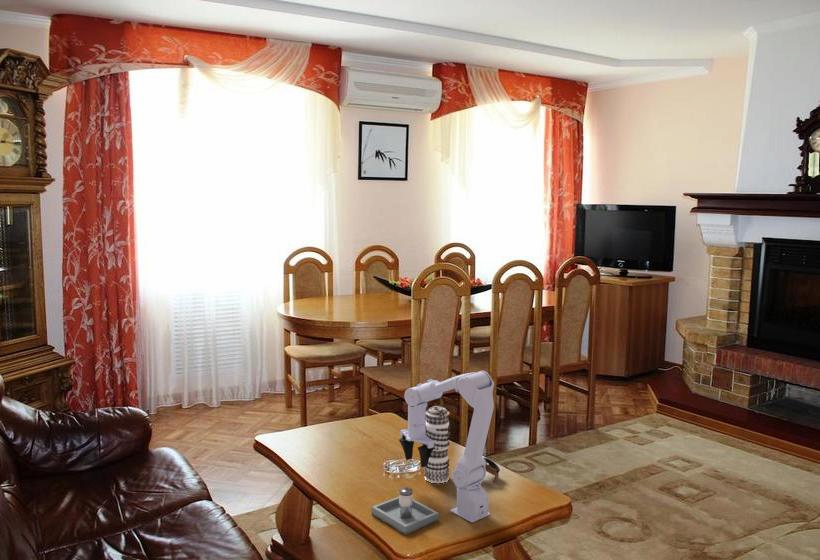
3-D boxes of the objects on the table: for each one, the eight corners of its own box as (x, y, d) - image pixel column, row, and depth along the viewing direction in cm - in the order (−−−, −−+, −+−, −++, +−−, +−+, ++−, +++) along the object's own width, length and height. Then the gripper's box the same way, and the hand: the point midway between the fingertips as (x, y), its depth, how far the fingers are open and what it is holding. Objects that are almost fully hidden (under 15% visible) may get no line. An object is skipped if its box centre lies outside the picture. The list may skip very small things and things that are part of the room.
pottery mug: (473, 472, 237) (485, 453, 236) (493, 490, 233) (506, 471, 232) (458, 476, 227) (471, 456, 226) (480, 495, 222) (493, 475, 221)
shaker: (415, 515, 204) (415, 489, 203) (406, 520, 201) (406, 494, 200) (404, 510, 206) (404, 486, 205) (395, 515, 203) (396, 490, 202)
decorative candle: (452, 474, 234) (453, 405, 231) (446, 486, 225) (447, 413, 222) (427, 471, 236) (427, 402, 233) (420, 482, 228) (420, 411, 224)
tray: (438, 520, 202) (438, 512, 201) (405, 535, 193) (405, 526, 193) (404, 501, 214) (404, 494, 213) (371, 514, 205) (371, 506, 205)
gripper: (393, 419, 222) (393, 458, 224) (422, 431, 211) (422, 473, 213) (409, 414, 227) (409, 453, 228) (438, 426, 216) (438, 467, 217)
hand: (416, 462), depth 221 cm, fingers open, 7 cm apart
